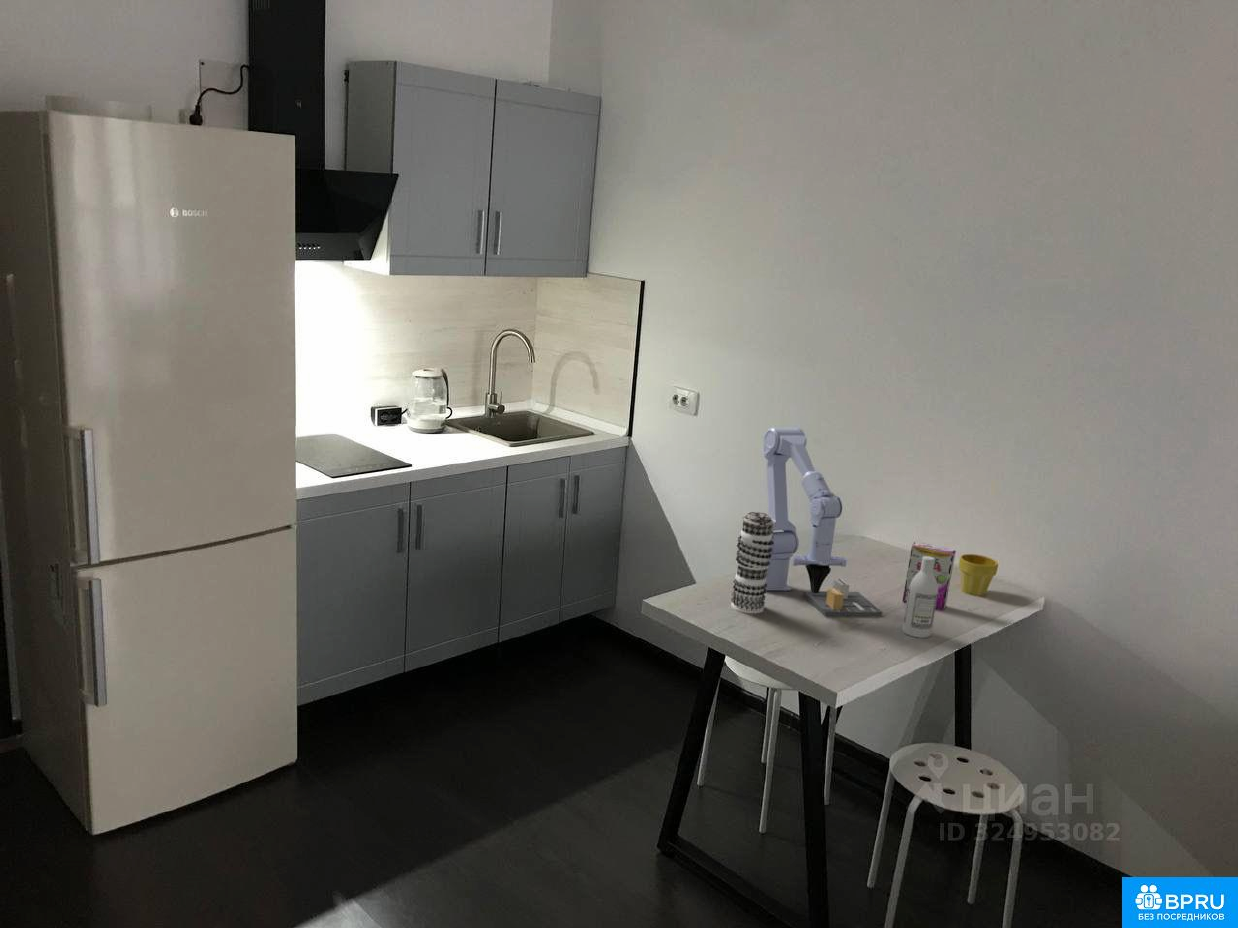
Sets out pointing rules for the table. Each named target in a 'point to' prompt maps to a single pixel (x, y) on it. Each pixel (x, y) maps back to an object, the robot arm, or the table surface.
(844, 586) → the cream fader knob
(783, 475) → the robot arm
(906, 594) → the candy bar box
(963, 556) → the plant pot
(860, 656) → the table surface
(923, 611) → the bath foam
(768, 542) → the decorative candle
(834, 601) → the amber fader knob
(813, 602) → the mixing board
